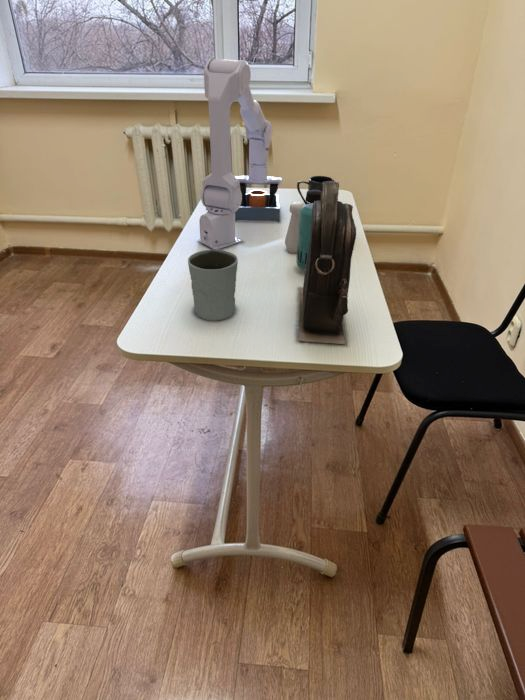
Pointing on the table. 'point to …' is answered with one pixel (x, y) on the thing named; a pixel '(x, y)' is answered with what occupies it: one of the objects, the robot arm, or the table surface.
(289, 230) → the salt shaker
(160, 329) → the table surface
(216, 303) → the grey plant pot
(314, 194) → the beverage bottle
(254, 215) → the dark grey storage bin
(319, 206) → the shoulder bag
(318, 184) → the mug
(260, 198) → the cup
